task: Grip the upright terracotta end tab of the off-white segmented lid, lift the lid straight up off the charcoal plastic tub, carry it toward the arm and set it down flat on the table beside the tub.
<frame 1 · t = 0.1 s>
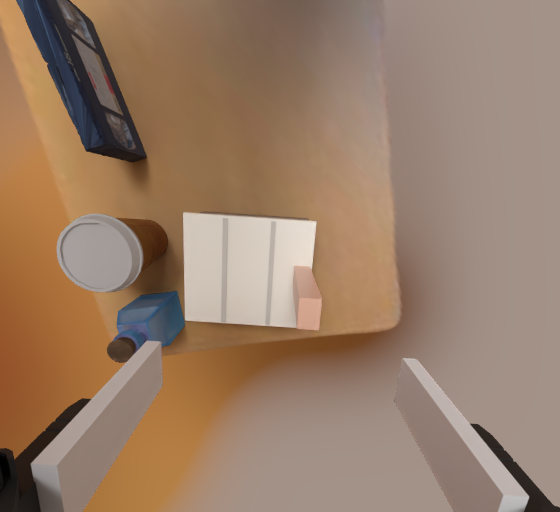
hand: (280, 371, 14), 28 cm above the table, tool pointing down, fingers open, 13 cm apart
disposable coffee cup: (148, 239, 41), on the table
vhs cassette tape: (115, 96, 37), on the table
perfume bottle: (163, 309, 44), on the table
lid: (248, 271, 35), point 7 cm above the table, touching tub
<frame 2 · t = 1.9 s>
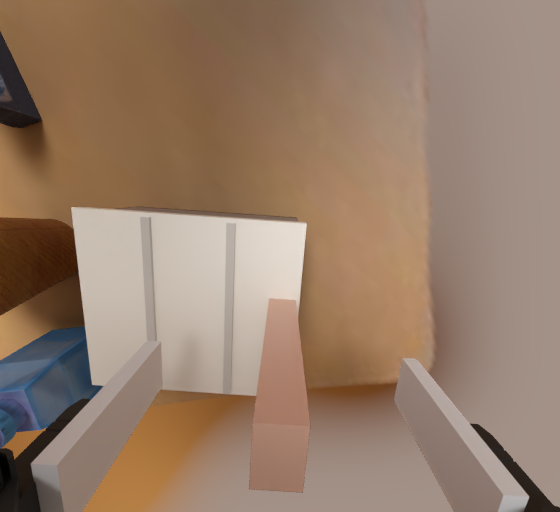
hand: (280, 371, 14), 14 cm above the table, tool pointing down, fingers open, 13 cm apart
disposable coffee cup: (56, 248, 27), on the table
perfume bottle: (87, 350, 30), on the table
lid: (194, 305, 21), point 7 cm above the table, touching tub
tub: (216, 278, 28), on the table
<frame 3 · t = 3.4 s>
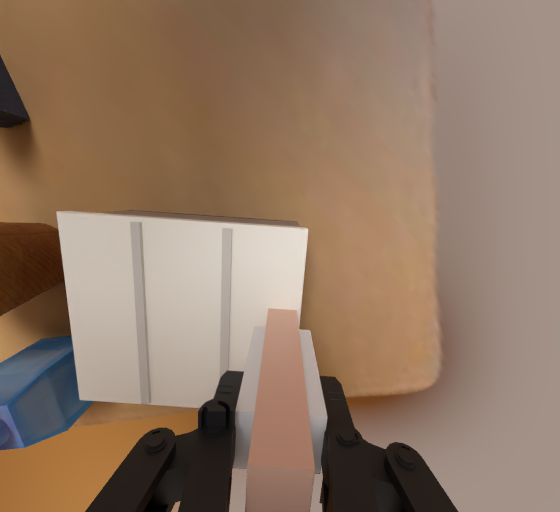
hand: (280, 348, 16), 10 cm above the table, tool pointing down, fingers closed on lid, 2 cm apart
disposable coffee cup: (46, 253, 26), on the table
perfume bottle: (78, 359, 29), on the table
lid: (189, 315, 20), point 7 cm above the table, touching gripper, tub
tub: (213, 284, 27), on the table
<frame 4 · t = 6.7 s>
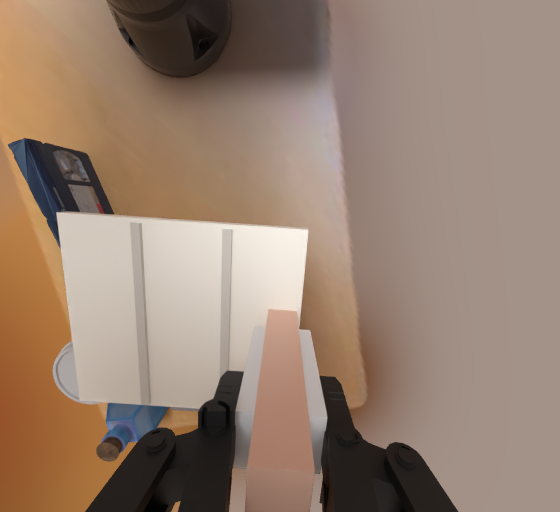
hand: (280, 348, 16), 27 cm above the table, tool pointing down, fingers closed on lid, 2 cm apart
disposable coffee cup: (137, 330, 46), on the table
vhs cassette tape: (107, 212, 42), on the table
perfume bottle: (151, 390, 48), on the table
lid: (189, 316, 20), point 23 cm above the table, touching gripper
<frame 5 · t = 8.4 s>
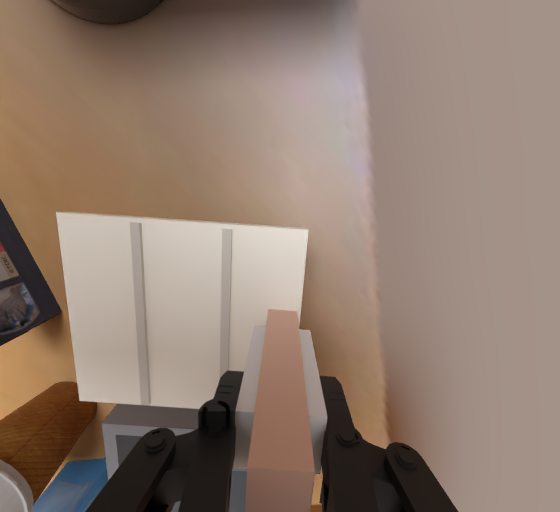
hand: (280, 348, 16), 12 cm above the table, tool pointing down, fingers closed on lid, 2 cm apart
disposable coffee cup: (72, 401, 33), on the table
vhs cassette tape: (14, 239, 28), on the table
perfume bottle: (98, 476, 35), on the table
lid: (188, 316, 20), point 9 cm above the table, touching gripper
tub: (207, 425, 33), on the table
when the fingers open (5 cm above the table, at t = 9.9 s): lid drops 1 cm, point 1 cm above the table.
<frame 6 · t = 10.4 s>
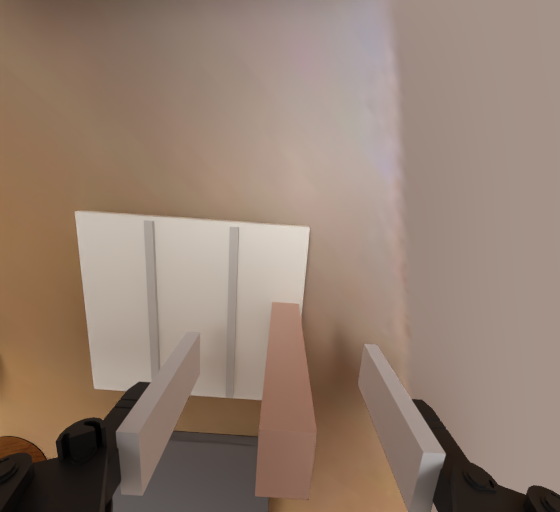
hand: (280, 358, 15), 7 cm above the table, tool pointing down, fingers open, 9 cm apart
disposable coffee cup: (18, 459, 26), on the table
lid: (197, 309, 21), point 1 cm above the table
tub: (188, 489, 26), on the table
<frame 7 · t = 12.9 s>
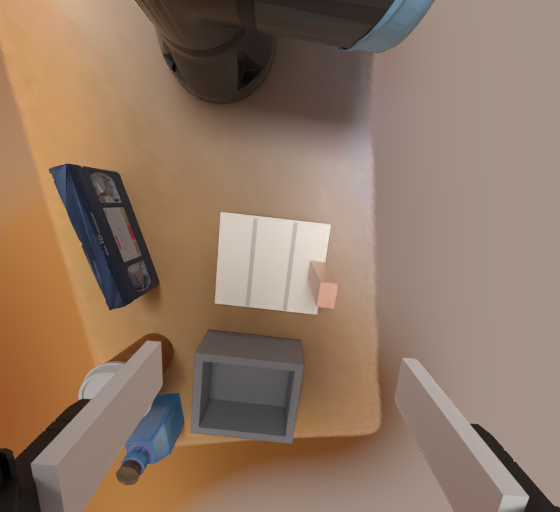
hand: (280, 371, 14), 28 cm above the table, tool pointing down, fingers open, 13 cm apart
disposable coffee cup: (156, 349, 46), on the table
vhs cassette tape: (134, 231, 42), on the table
perfume bottle: (165, 408, 48), on the table
lid: (271, 263, 41), point 1 cm above the table
tub: (250, 370, 46), on the table
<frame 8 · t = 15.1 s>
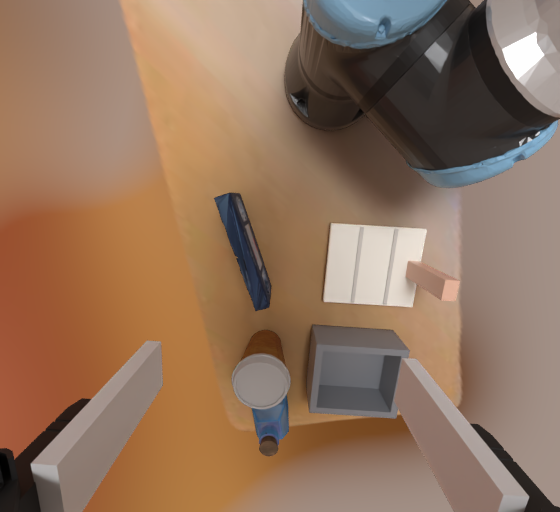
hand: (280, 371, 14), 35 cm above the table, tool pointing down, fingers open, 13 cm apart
disposable coffee cup: (265, 343, 53), on the table
vhs cassette tape: (250, 243, 48), on the table
perfume bottle: (271, 394, 55), on the table
lid: (371, 265, 48), point 1 cm above the table
tub: (348, 358, 53), on the table
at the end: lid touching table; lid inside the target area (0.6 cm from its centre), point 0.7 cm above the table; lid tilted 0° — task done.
